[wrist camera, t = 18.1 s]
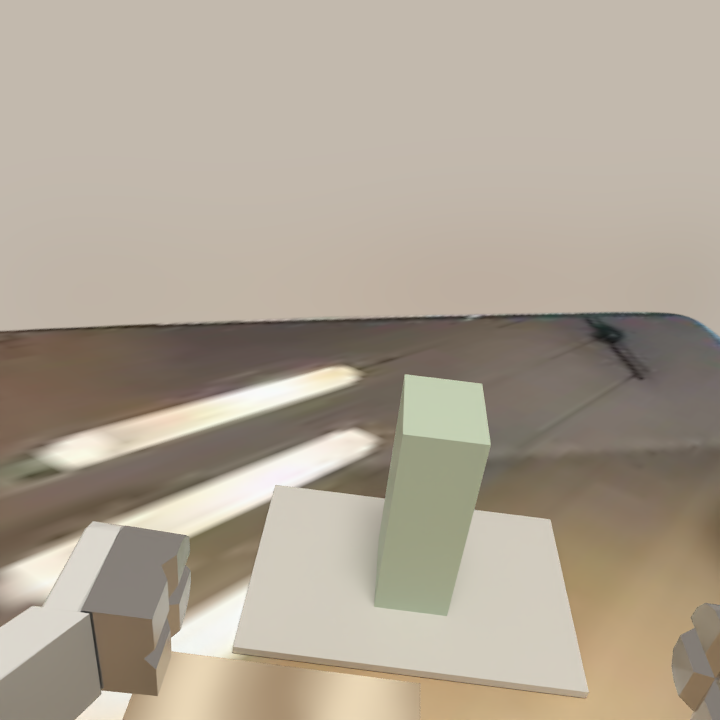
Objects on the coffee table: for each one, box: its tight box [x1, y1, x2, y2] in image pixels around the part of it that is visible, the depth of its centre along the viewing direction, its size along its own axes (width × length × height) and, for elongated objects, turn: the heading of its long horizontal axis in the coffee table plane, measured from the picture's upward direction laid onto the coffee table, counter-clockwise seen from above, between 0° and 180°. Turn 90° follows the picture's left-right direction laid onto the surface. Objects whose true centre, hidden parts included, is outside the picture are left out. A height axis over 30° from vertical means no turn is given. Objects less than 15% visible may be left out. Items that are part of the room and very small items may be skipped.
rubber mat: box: [233, 485, 589, 698], centre depth 40 cm, size 18×12×1 cm, turn 86°
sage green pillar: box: [374, 374, 491, 616], centre depth 36 cm, size 4×5×12 cm
